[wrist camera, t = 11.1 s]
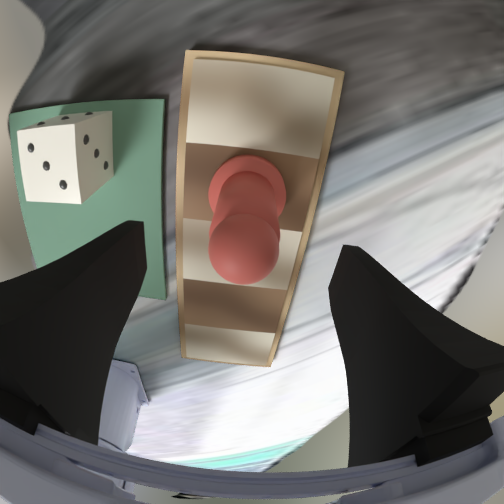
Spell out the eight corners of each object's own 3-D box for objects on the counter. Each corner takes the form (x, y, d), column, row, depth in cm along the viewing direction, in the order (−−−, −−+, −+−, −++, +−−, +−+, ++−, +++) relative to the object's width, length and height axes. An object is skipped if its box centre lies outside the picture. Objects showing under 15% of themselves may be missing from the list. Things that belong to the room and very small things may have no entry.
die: (116, 176, 16) (82, 205, 12) (62, 174, 15) (25, 202, 12) (114, 108, 13) (75, 121, 10) (58, 112, 13) (15, 128, 10)
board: (270, 361, 26) (270, 368, 25) (182, 352, 25) (181, 359, 24) (341, 71, 13) (345, 71, 12) (188, 51, 12) (185, 49, 11)
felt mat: (166, 297, 21) (165, 300, 21) (42, 275, 21) (40, 277, 20) (165, 98, 14) (163, 99, 13) (11, 113, 13) (8, 114, 13)
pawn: (278, 225, 17) (289, 317, 11) (209, 218, 17) (184, 307, 11) (290, 159, 15) (315, 224, 9) (213, 150, 14) (182, 209, 8)
